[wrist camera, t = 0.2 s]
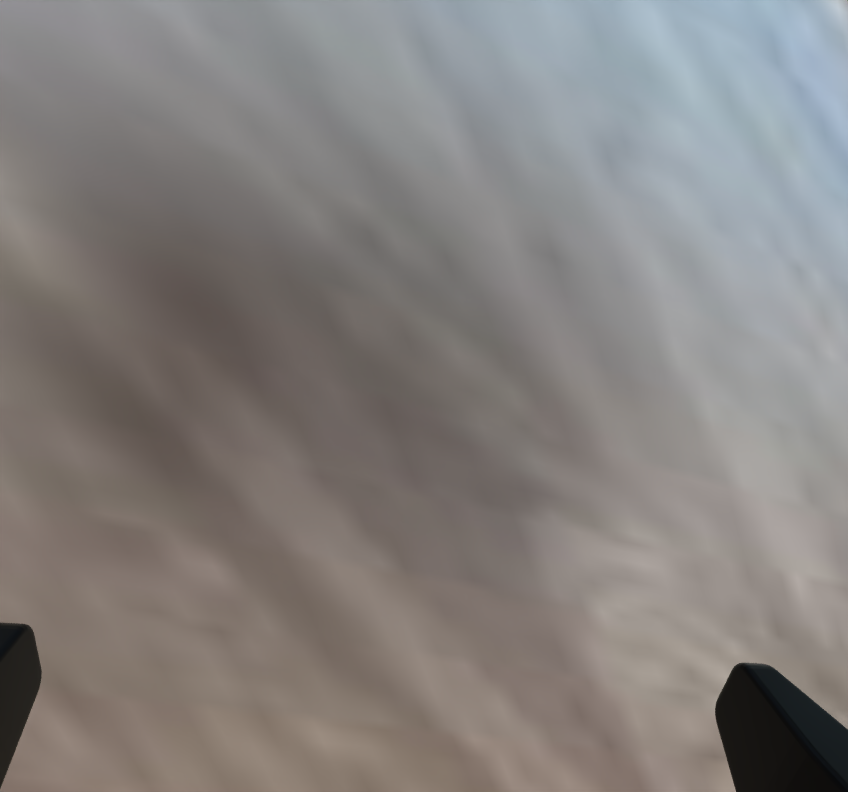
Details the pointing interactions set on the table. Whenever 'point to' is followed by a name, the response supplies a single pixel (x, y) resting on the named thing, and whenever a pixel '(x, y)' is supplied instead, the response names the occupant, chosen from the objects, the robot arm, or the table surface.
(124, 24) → the table surface
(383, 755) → the table surface
